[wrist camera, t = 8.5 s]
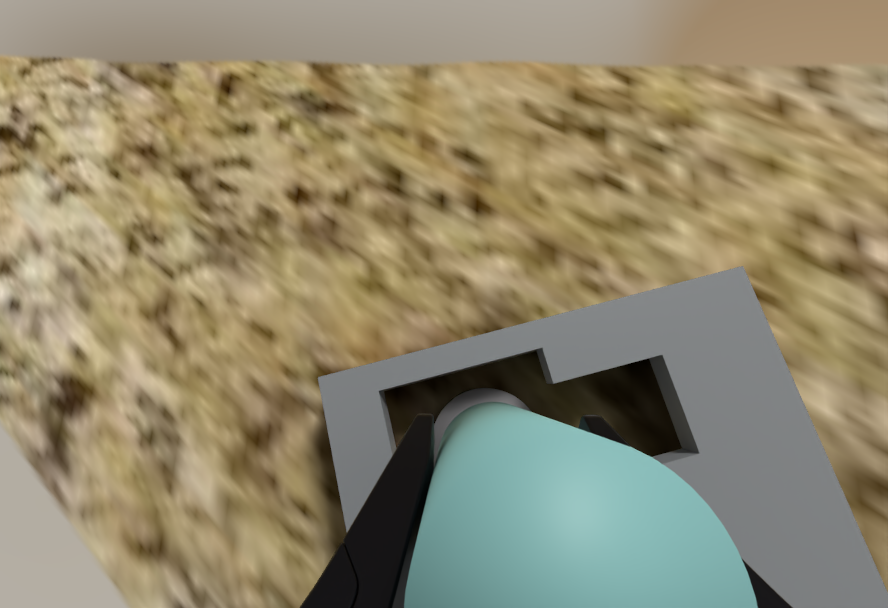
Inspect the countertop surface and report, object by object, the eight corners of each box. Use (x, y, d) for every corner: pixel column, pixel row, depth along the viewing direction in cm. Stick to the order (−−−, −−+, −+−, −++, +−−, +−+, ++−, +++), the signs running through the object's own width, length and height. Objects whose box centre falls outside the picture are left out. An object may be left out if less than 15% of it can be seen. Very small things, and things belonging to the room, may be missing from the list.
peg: (553, 484, 15) (889, 824, 3) (447, 513, 15) (421, 968, 3) (520, 376, 16) (700, 353, 4) (420, 403, 16) (327, 454, 4)
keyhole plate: (837, 640, 14) (939, 708, 11) (418, 763, 14) (409, 868, 11) (692, 286, 17) (742, 266, 14) (341, 378, 16) (317, 377, 13)
